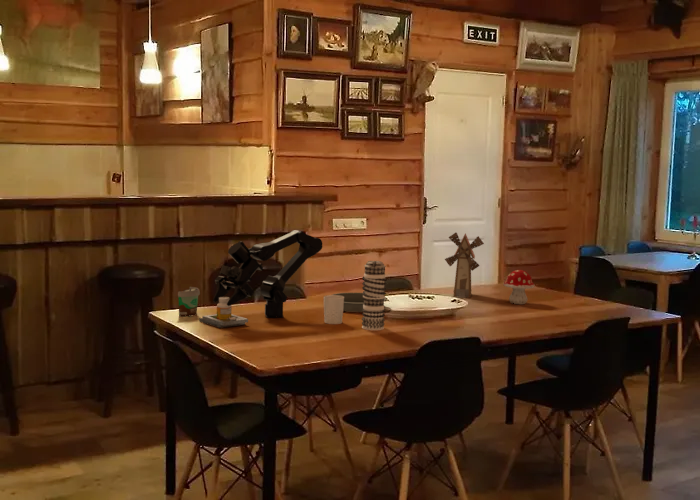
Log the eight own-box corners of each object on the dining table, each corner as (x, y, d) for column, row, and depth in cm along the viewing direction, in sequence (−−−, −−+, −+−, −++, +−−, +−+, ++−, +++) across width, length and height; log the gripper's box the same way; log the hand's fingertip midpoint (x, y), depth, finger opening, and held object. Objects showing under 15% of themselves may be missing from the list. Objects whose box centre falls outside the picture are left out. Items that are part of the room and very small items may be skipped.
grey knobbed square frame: (199, 321, 311) (199, 313, 311) (224, 318, 319) (224, 309, 318) (223, 328, 300) (223, 320, 299) (248, 325, 307) (248, 316, 307)
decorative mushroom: (501, 299, 377) (503, 267, 376) (532, 301, 376) (534, 268, 374) (502, 305, 364) (504, 271, 362) (535, 306, 362) (537, 272, 360)
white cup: (346, 321, 318) (347, 296, 317) (338, 325, 311) (338, 299, 310) (328, 319, 322) (329, 294, 320) (319, 323, 315) (320, 297, 313)
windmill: (442, 296, 380) (445, 232, 376) (444, 292, 393) (446, 229, 389) (481, 299, 377) (484, 233, 374) (481, 294, 390) (484, 231, 386)
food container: (192, 318, 317) (192, 292, 316) (177, 317, 318) (177, 291, 317) (204, 312, 329) (204, 287, 328) (190, 311, 330) (190, 286, 329)
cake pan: (315, 306, 350) (316, 295, 350) (359, 300, 366) (359, 290, 366) (354, 315, 332) (354, 304, 331) (398, 309, 348) (398, 298, 347)
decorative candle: (368, 331, 302) (370, 263, 299) (356, 326, 310) (358, 260, 308) (389, 329, 307) (392, 262, 304) (377, 324, 315) (379, 259, 312)
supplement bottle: (217, 321, 312) (217, 296, 311) (231, 321, 312) (232, 296, 311) (216, 324, 306) (216, 298, 305) (230, 324, 307) (231, 299, 306)
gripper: (219, 254, 316) (194, 286, 310) (247, 260, 302) (221, 293, 296) (236, 273, 322) (211, 304, 316) (264, 280, 308) (239, 312, 302)
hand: (220, 303), depth 307 cm, fingers open, 9 cm apart
